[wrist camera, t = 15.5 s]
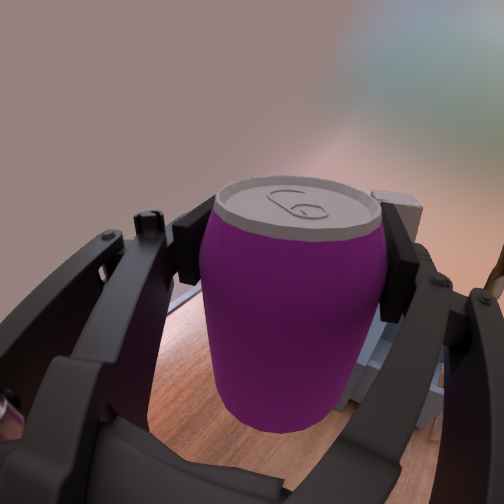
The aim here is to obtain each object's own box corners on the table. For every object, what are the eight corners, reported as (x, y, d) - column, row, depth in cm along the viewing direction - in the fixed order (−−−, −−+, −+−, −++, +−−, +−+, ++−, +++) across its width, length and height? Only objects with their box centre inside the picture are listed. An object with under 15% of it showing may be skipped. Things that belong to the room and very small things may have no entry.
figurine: (472, 361, 28) (534, 239, 18) (447, 329, 34) (493, 211, 25) (488, 352, 28) (545, 238, 19) (464, 322, 35) (508, 213, 25)
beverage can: (359, 413, 14) (443, 227, 8) (234, 454, 12) (210, 260, 6) (309, 332, 20) (332, 170, 14) (207, 354, 18) (186, 178, 12)
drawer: (480, 376, 24) (505, 341, 21) (468, 451, 16) (505, 420, 12) (361, 328, 35) (374, 289, 32) (320, 392, 27) (333, 353, 23)
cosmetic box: (394, 267, 51) (412, 193, 43) (403, 288, 45) (426, 206, 37) (356, 264, 52) (370, 186, 44) (361, 284, 46) (379, 198, 38)
